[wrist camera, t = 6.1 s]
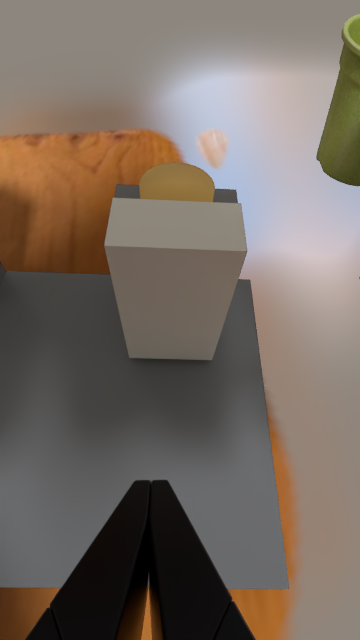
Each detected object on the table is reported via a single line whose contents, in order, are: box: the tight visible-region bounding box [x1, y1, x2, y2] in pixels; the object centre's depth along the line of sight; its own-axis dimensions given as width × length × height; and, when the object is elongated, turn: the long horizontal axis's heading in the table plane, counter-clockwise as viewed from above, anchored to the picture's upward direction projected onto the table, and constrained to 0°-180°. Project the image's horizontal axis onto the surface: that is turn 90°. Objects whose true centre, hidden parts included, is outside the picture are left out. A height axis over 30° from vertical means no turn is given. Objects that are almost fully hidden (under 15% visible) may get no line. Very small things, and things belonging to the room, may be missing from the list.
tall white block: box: [104, 198, 247, 360], centre depth 13 cm, size 2×4×8 cm, turn 89°
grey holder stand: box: [0, 163, 289, 589], centre depth 12 cm, size 14×19×8 cm
